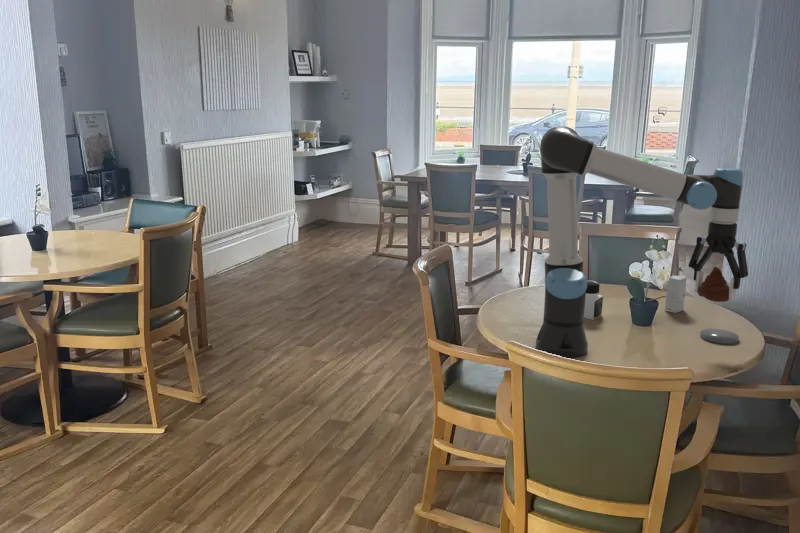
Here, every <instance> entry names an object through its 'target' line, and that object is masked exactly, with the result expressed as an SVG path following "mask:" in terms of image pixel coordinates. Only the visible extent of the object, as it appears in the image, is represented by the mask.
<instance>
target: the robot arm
mask: <svg viewBox="0 0 800 533" xmlns="http://www.w3.org/2000/svg"><path fill="white" fill-rule="evenodd" d="M539 146H540V147H539V152H540V157H541V158H540V159H541V160H540V161H541V162H540V164H541V174H542V175H543V176H544V177H545V178H546V184H547V185H546V188H547V189H546V190H547V214H548V215H547V216H548V217H547V219H548V220H547V221H548V223H547V224H548V246H549V247H548V248H549V249H548V250H549V254H548V256H547V257H545V259H544V276H545V277H544V285H545V287H544V306H543V321H542V324H541V327H540V330H539V331H538V334H537V336H536V339H535V340H536V341H535V348H536V350H538V349H539V350H542V351H546V352H548V353H552V354H556V355H560V356H563V357H562V358H577V357H582V356H584V355H586V354H587V352H588V346H589V345H588V344H589V343H588V340H587V336H586V331H585V327H584V320H585V318H584V310H585V297H586V289H587V281H588V280H587V276H586V275H585V274H584V259H583V258H582V257H581V255H579V252H578V248H579V246H578V245H579V244H578V243H579V242H578V241H579V240H578V206H577V204H578V202H577V201H578V200H577V196H578V195H577V177H578V175H581V176H584V175H586V174H590V175H593V176H596V177H599V178H603V179H605V180H609V181H612V182H614V183H618V184H622V185H624V186H629V187H631V188H634V189H637V190H640V191H643V192H646V193H650V194H652V195H656V196H659V197H662V198H666V199H669V200H673V201H676V202H677V203H682V204H684V205H688V206H690V207H691V208H692V209H695V210H707V209H709V208H710V211H709V212H710V213H709V220H710V221H709V222H708V229H707V236H704V235H701V236H698V237H696V245H695V247H694V248H693V249H694V250H693V253H692V255H691V257H690V260H689V263H688V268H691V269H693V270H694V271H693V280H694V281H695V286H694V292H695V293H698V289H699V288H700V287H701V286H702V283H703V282H704V274H705V273H704V272H705V271H704V269H703V267H704V266H705V264H706V263H707V261H708V260H710V257H712V255H713V254H714V253H715V254H716V253H718V254H721V255H724V257H725V259H726V261H727V263H728V266H729V269H730V271H731V273H732V274H731V275H732V276H733V277H730V289H729V299H728V301H732V300H735V299H736V293H737V289H738V290H739V289H740V287H741V280H742V279H744V278H747V277H748V276H749V270H748V263H747V257H746V256H747V255H746V248H747V243H746V242H743V243H741V242H738V241H737V239H736V236H737V231H738V230H737V229H738V224H737V222H738V221H739V220H738V219H739V213H740V212H739V211H740V203H741V196H742V189H743V178H744V174H743V173H744V172H743V171H742V170H741V169H740V168H734V167H720V168H719V167H718V168H716V169H715V170H714V173H713V174H709V175H708V174H705V175H704V174H685V173H682V172H677V171H674V170H671V169H668V168H665V167H663V166H658V165H656V164H653V163H649V162H646V161H644V160H640V159H636V158H632V157H630V156H627V155H624V154H620V153H618V152H614V151H612V150H608V149H604V148H601V147H600V146H599V147H598V145H597V144H596V142H595V141H592V140H588V139H586V138H583V137H582V136H580V135H579V134H578V132H576V130H574V129H573V128H571V127H569V126H563V125H559V126H554V127H552V128H550V129H548V130H547V131H546V132H545V133H544V134H543V136H542V138H541V140H540V145H539ZM706 243H707V245H708V247H707V249H706V250H705V251H704V253H703V255H702V256H701V254H702V251H703V248H704V245H705V244H706ZM734 247H735V250H736V254H737V260H736V257H735V252H734V250H733V249H734ZM700 256H701V258H700ZM737 261H738V262H737ZM539 350H538V351H539Z"/></svg>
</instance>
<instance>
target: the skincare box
mask: <svg viewBox="0 0 800 533" xmlns="http://www.w3.org/2000/svg"><path fill="white" fill-rule="evenodd" d="M669 277H670V278H669ZM669 277H668V278H669V281H668V280H667V285H666V294H665V303H664V304H665V307H664V311H666V312H670V313H674V314H677V313H679V312H682V311H684V308H685V297H686V287H687V286H686V285H687V277H686V276H684V275H683V276H682V275H676V274H675V275H672V276H669Z"/></svg>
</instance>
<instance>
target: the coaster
mask: <svg viewBox="0 0 800 533" xmlns="http://www.w3.org/2000/svg"><path fill="white" fill-rule="evenodd" d="M699 335H700V338H701V339H702V340H704V341H707V342H709V343H714V344H719V345H735V344H737V343H739V335H738V334H737V333H735V332H733V331H729V330H726V329H720V328H719V329H718V328H704V329H701V330H700V333H699Z"/></svg>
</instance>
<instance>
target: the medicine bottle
mask: <svg viewBox="0 0 800 533" xmlns="http://www.w3.org/2000/svg"><path fill="white" fill-rule="evenodd" d="M600 287H601V286H600V284H599V282H597V281H595V280H587V289H586V297H585V310H584V319H586V320H590V321H591V320H592V321H594V320H596V319H597V318H599V317H600V316H602V314H603V312H602V311H603V303H604V302H603V301H604V300H603V299H604V295H602V294H600Z"/></svg>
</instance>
